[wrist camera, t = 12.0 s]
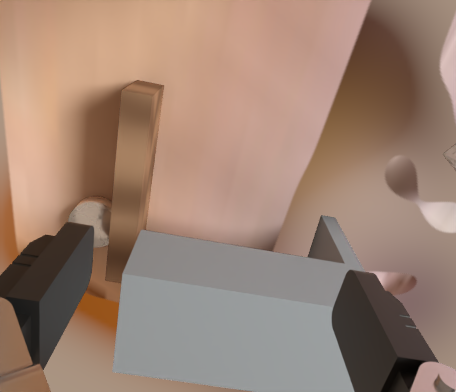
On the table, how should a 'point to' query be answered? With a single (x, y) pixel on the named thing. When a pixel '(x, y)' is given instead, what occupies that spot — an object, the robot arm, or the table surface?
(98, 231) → the silver rounded piece
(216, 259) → the low cabinet
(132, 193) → the copper bar
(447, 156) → the skincare box
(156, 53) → the table surface
